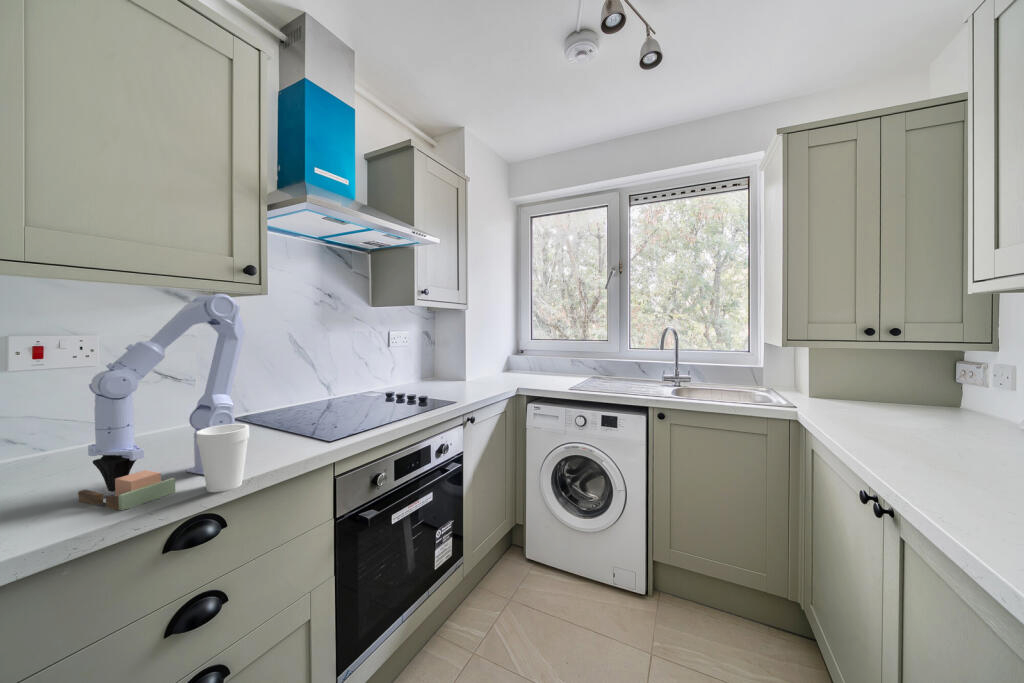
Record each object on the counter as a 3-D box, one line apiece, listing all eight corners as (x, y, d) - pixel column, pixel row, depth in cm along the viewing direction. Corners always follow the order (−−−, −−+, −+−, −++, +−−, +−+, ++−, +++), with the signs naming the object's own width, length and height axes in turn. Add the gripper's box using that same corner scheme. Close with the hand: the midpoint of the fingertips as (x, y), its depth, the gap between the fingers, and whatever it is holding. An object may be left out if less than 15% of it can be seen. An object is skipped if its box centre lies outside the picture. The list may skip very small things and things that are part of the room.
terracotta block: (145, 492, 82) (145, 470, 82) (161, 496, 81) (160, 472, 80) (115, 502, 77) (115, 478, 77) (131, 506, 76) (131, 481, 76)
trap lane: (133, 484, 86) (133, 471, 86) (175, 492, 82) (175, 478, 82) (78, 501, 78) (78, 486, 78) (122, 510, 74) (121, 495, 74)
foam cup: (259, 478, 90) (258, 423, 90) (231, 495, 81) (230, 434, 80) (218, 478, 90) (217, 424, 89) (186, 495, 80) (184, 434, 80)
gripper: (67, 428, 79) (69, 492, 79) (112, 434, 75) (114, 502, 75) (111, 420, 86) (113, 480, 86) (155, 425, 81) (156, 488, 82)
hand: (116, 489), depth 81 cm, fingers closed
